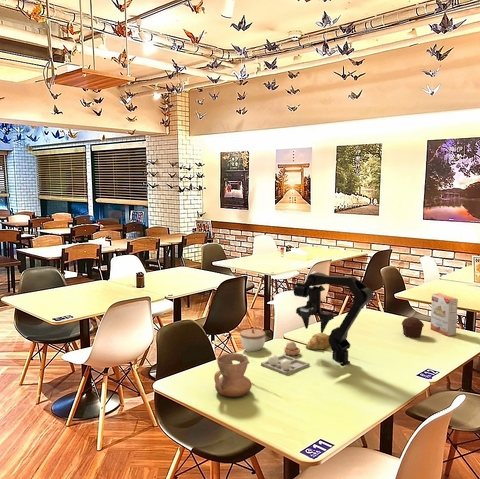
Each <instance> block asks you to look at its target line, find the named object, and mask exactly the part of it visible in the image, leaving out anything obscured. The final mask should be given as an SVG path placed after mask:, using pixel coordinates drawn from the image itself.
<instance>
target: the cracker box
mask: <svg viewBox="0 0 480 479" xmlns="http://www.w3.org/2000/svg"><path fill="white" fill-rule="evenodd" d="M458 304H459V303H458V298H456V297H454V296H449V295H447V294H443V293H432V294H431V307H430V308H431V310H430V311H431V312H430V330H432V331H435V332H437V333H439V334H442V335H444V336H447V337H452V336H457V324H458V323H457V320H458V317H457V316H458Z"/></svg>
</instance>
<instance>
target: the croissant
mask: <svg viewBox="0 0 480 479" xmlns="http://www.w3.org/2000/svg"><path fill="white" fill-rule="evenodd" d="M329 335H330V334H329ZM329 335H328V334H326V333H324V332H323V333H321V332H318V333H315V334H313V335H312V336H311V338H310V339H309V341H308V342H307V344H305V349H306V350H323V349H327V348H328V347H329V346H330V344H329V341H328V339H329V337H328V336H329Z"/></svg>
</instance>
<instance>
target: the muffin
mask: <svg viewBox="0 0 480 479" xmlns="http://www.w3.org/2000/svg"><path fill="white" fill-rule="evenodd" d="M401 325H402V332H403V336H404V335H405V336H404V337H406V338H409V339H419V338H421V337H422V332H423V327H425V325H424V322H423V321H422V320H420V319H419V318H417V317H414V316H409V317H406V318H404V319H403V320H402V322H401Z"/></svg>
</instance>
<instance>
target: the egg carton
mask: <svg viewBox="0 0 480 479" xmlns="http://www.w3.org/2000/svg"><path fill="white" fill-rule="evenodd" d="M277 357H278V359H279V362H278V364H277V365H275V366H272V365H270V364H269V362H268V360H266V361H263V362H260V366H262V367H265V368H267V369H270V370H272V371H274V372H277V373H279V374H282V375H285V376H289V375H291V374H293V373H295V372H298V371H301V370H303V369H305V368H307V367H309V366H310V363H308V362H306V361H303V360H301V359H298V358H296V357H295V358H294V357H291V356H290V355H287V354H286V355H285V354H282V355H278V356H277ZM284 359H288V360H289V361H290V362H291V368H290V369H289V370H283V369H282V368H281V361H282V360H284Z"/></svg>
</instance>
